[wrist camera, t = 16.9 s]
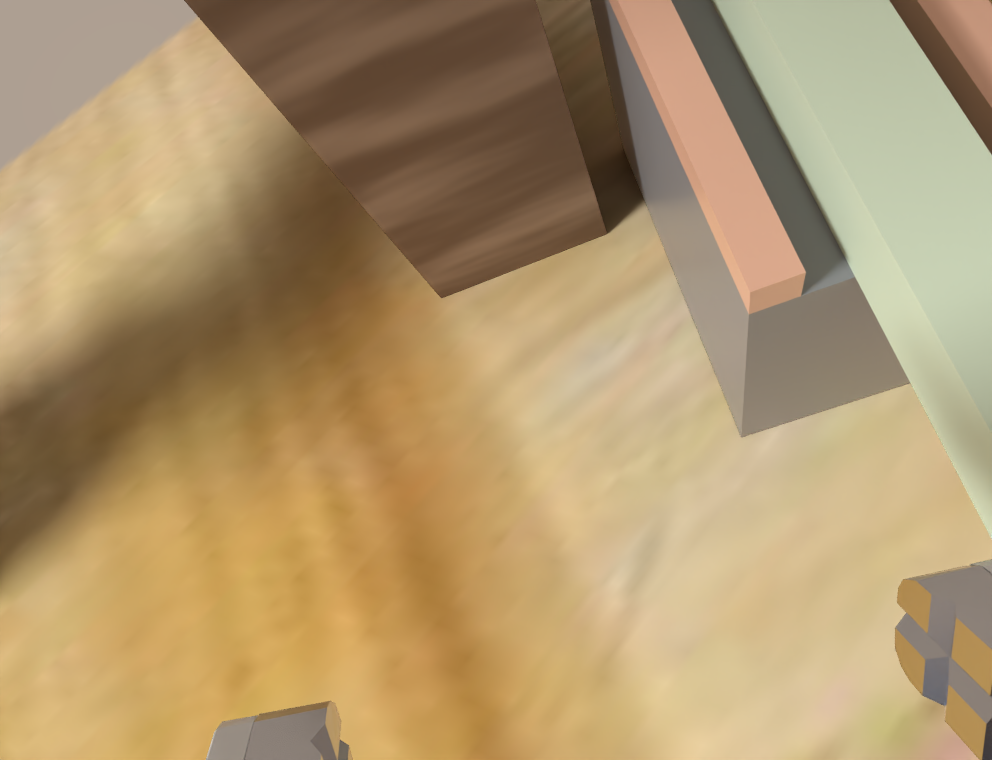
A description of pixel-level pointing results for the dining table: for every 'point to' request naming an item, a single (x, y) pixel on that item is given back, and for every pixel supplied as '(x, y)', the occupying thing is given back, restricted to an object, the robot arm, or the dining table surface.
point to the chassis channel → (761, 201)
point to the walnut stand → (428, 122)
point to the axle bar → (891, 195)
